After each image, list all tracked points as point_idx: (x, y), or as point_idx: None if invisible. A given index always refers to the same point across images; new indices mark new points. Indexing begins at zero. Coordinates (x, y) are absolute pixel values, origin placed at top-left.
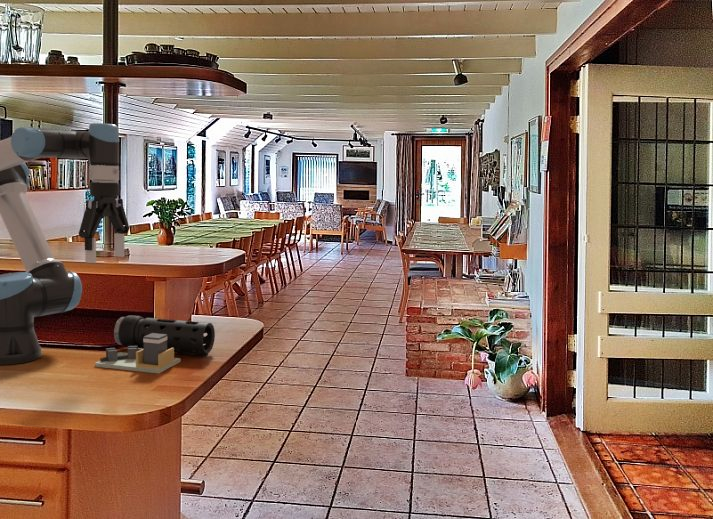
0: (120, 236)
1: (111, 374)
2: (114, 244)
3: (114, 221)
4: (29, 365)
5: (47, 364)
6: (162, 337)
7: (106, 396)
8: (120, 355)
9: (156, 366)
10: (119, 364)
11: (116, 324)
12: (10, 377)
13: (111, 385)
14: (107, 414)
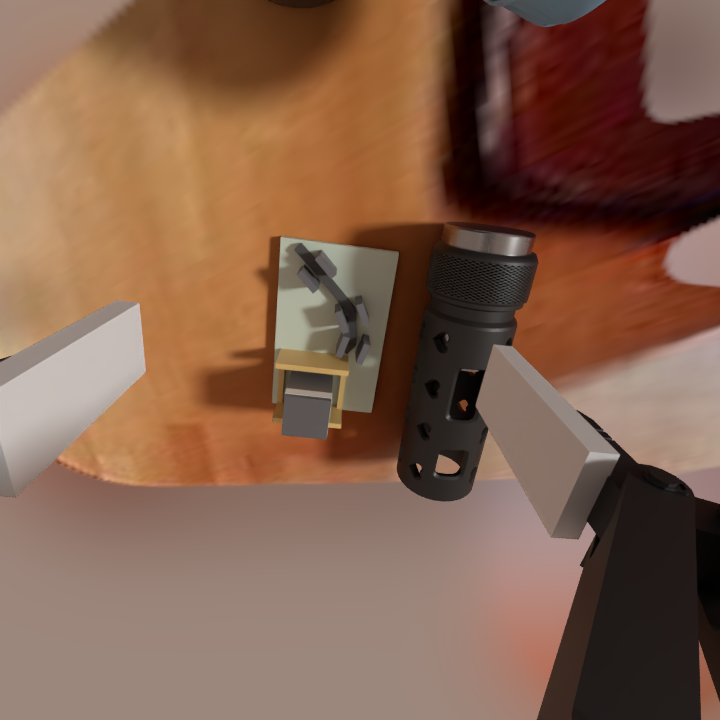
0: (549, 494)
1: (234, 306)
2: (531, 388)
3: (566, 657)
4: (233, 23)
5: (261, 81)
6: (302, 435)
7: None
8: (336, 286)
9: (277, 397)
10: (285, 304)
11: (462, 232)
12: (106, 41)
13: (160, 341)
14: None
